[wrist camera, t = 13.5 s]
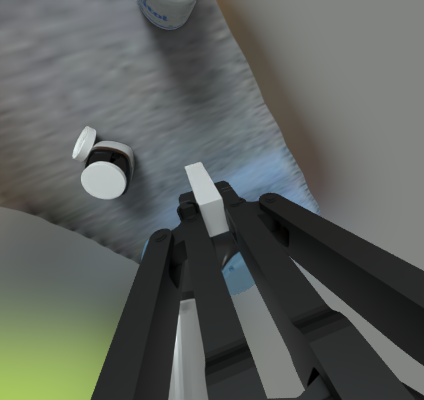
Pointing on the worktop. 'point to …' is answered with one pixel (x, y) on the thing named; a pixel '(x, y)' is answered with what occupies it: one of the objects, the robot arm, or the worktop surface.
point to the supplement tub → (167, 12)
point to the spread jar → (104, 165)
